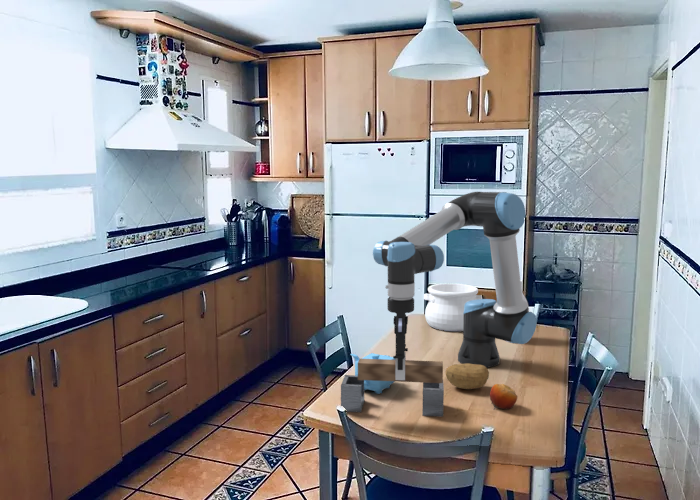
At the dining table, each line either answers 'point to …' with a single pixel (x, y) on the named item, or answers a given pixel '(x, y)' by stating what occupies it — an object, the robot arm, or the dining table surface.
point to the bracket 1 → (352, 393)
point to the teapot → (371, 384)
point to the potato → (467, 375)
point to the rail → (413, 370)
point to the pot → (448, 305)
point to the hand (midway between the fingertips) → (400, 376)
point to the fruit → (503, 396)
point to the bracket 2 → (433, 399)
